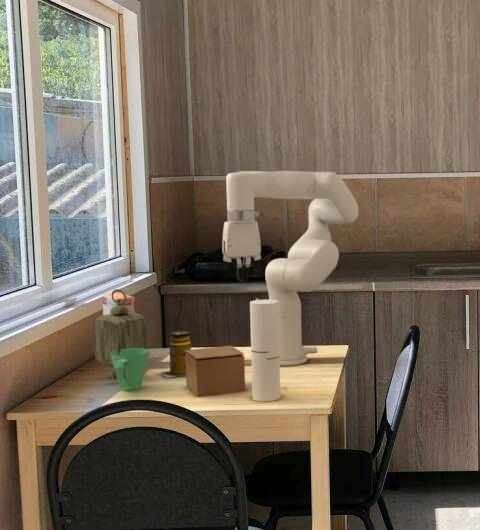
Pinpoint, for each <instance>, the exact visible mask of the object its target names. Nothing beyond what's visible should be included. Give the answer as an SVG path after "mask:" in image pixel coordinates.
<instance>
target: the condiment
mask: <svg viewBox="0 0 480 530" xmlns="http://www.w3.org/2000/svg"><path fill="white" fill-rule="evenodd" d="M169 337H170V339H169V340H170V342H169V344H168V345H169V346H168V347H169V371H159V374H161V375H162V376H163V377H165V378H167V379H170V378H175V377H186V356H185V353H187V352H186V350H192V342H191V340H190V333H189V332H188V331H182V330H181V331H180V330H179V331H173V332H171V333H170V335H169Z"/></svg>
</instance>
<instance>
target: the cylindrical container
mask: <svg viewBox="0 0 480 530" xmlns="http://www.w3.org/2000/svg"><path fill="white" fill-rule="evenodd" d="M249 319H250V322H249V323H250V354H251V355H250V357H251V358H250V359H251V388H252V389H251V390H252V391H251V392H252V394H251V395H252V397H251V398H252V400H254V401H258V402H272V401H276V400H279V399H281V366H280V358H279V316H278V301H277V300H269V299H255V300H251V301H250V302H249Z"/></svg>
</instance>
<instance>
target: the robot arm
mask: <svg viewBox="0 0 480 530" xmlns="http://www.w3.org/2000/svg"><path fill="white" fill-rule="evenodd" d="M225 181H226V185H225V186H226V214H227V215H226V217H227V221H224V223H223V228H222V229H223V230H222V255H223V259H222V260H223V261H224V262H227V263H232V265H234V266H235V267H236V279H237V280H238V281H239V282H240V283H245V282H246V283H247V282H248V279H249V278H250V271H249V270H250V269H249V268H250V267H251V265H252V264H253V263H254V262H256V261H259V260H261V259H262V255H261V252H262V246H261V236H260V229H259V224H258V220H256V218H257V217H258V218H259V217H260V211H256V210H255V198H258V199H259V198H261V199H263V198H264V199H265V198H268V199H275V200H276V199H278V200H312V201H311V202H310V204H309V206H308V210H307V211H308V213H307V214H308V227H307V230H306V231H305V232H304V233H303V235H301V236H300V238H299V239H298V240H296V241H295V243H293V245H292V246H291V247H290V248H289V251H288V253H287V258H286V257H279V258H274V259H272V260H271V261H270V262H269V263H268V264H267V265H266V267H265V273H264V276H265V278H264V279H265V282H266V288H267V291H268V293H267V294H268V300H277V301H278V316H279V358H280V367H283V366H284V367H287V366H298V365H302V364H305V363H306V362H307V361H308V355H309V354H311V355H312V354H317V353H318V347H317V346H312V347H311V346H304V345H303V340H302V339H303V338H302V337H303V336H302V335H303V334H302V333H303V332H302V302H301V299H300V297H299V294H298V292H304V293H305V292H306V293H308V292H314V291H316V289H318V288H319V287H320V286H321V285H322V284H323V282H324V281H325V280H326V279H327V278H328V277H329V276H330V275H331V274H332V273H333V271H334V270H335V269H336V267H337V266H338V262H339V258H340V252H339V248H338V246H337V245H336V243H334V242H333V241H332V235H331V232H330V230H329V226H328V225H329V224H334V225H349V224H352V223H354V222H355V221H356V220H357V218H358V217H359V206H358V203H357V200H356V199H355V197H354V195H353V193H352V192H351V190H350V189H349V187H348V185H347V184H346V183H345V181H344V180H343V179H342V177H340V175H339V174H338V173H336V172H334V171H299V170H296V171H295V170H278V171H277V170H276V171H264V170H259V171H258V170H250V171H249V170H246V171H245V170H241V171H237V172H229V173H227V175H226V179H225ZM242 258H243V260H242ZM242 261H243V262H242Z"/></svg>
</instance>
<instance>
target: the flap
mask: <svg viewBox="0 0 480 530" xmlns="http://www.w3.org/2000/svg"><path fill="white" fill-rule="evenodd" d="M208 348H209V349H211V350H212V351H214V352H215V353H217V354H218V355H219V356H220V357H227V356H235V355H243V356H245V354H244V352H242V351H241V350H239V349H238V348H236V347H235V346H233V345H224V346H215V347H208Z"/></svg>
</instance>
